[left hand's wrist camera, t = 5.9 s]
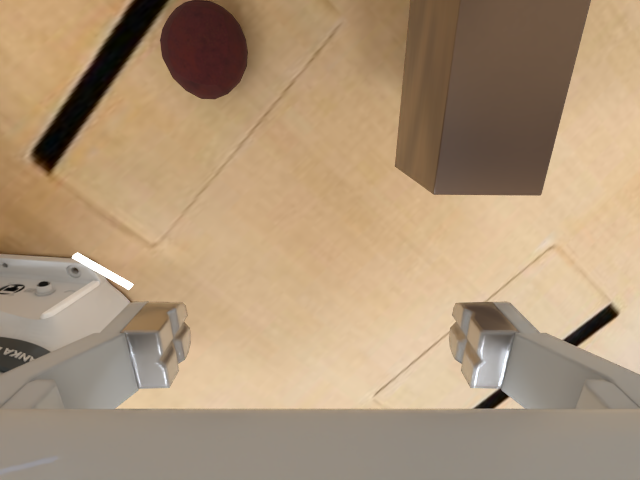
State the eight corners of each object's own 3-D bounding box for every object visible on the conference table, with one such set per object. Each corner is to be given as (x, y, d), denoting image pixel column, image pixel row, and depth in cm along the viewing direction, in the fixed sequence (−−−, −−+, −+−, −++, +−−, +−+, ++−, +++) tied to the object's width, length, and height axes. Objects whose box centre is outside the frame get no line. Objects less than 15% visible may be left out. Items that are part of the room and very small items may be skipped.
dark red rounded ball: (259, 24, 33) (246, 3, 26) (245, 108, 35) (230, 109, 29) (181, 1, 32) (147, -27, 25) (173, 89, 34) (140, 85, 28)
